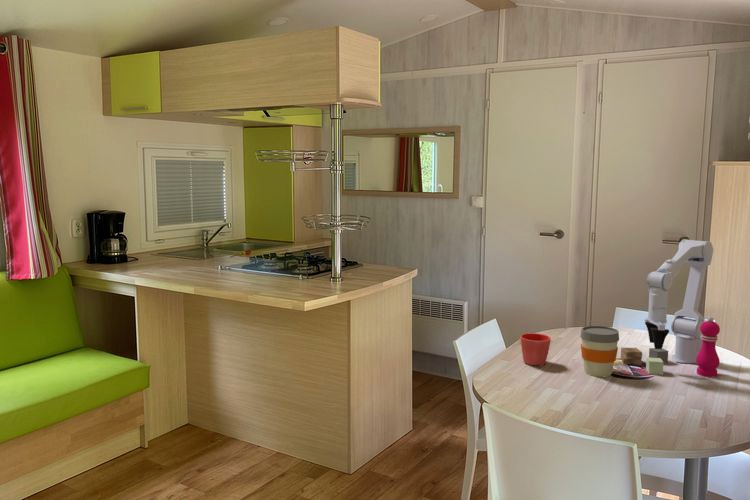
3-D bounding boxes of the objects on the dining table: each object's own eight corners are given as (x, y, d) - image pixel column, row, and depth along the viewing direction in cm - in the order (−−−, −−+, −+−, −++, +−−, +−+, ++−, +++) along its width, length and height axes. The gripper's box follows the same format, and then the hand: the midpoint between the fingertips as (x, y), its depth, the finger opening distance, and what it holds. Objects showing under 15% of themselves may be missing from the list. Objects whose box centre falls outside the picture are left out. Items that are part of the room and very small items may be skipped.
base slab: (637, 361, 233) (638, 354, 233) (641, 366, 227) (641, 359, 227) (620, 360, 234) (620, 353, 234) (623, 365, 228) (623, 358, 228)
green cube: (659, 370, 222) (660, 358, 221) (662, 374, 217) (663, 362, 217) (645, 369, 222) (646, 357, 222) (648, 374, 218) (649, 361, 217)
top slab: (635, 354, 233) (636, 347, 233) (641, 359, 228) (642, 352, 227) (620, 354, 233) (621, 347, 233) (626, 358, 228) (626, 352, 227)
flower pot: (547, 358, 236) (547, 333, 234) (552, 368, 225) (553, 341, 224) (517, 357, 237) (518, 332, 235) (521, 367, 226) (522, 340, 225)
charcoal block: (659, 359, 234) (660, 347, 234) (667, 363, 230) (668, 350, 229) (648, 360, 233) (649, 348, 233) (656, 363, 229) (657, 351, 228)
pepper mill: (721, 378, 213) (725, 319, 210) (698, 376, 215) (702, 319, 212) (714, 371, 220) (718, 314, 217) (692, 370, 222) (695, 314, 219)
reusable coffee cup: (575, 375, 217) (577, 332, 215) (582, 364, 228) (584, 323, 226) (614, 380, 211) (616, 336, 209) (619, 369, 222) (621, 328, 220)
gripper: (641, 301, 225) (639, 339, 226) (649, 311, 210) (647, 351, 212) (662, 302, 223) (660, 340, 225) (672, 312, 209) (670, 352, 211)
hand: (655, 345), depth 219 cm, fingers open, 7 cm apart
